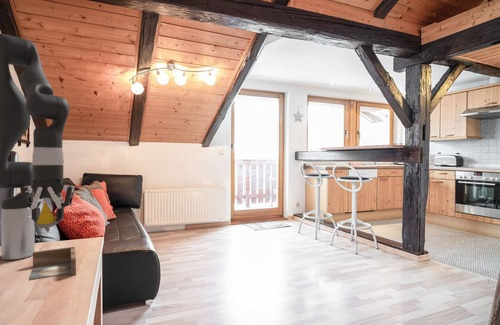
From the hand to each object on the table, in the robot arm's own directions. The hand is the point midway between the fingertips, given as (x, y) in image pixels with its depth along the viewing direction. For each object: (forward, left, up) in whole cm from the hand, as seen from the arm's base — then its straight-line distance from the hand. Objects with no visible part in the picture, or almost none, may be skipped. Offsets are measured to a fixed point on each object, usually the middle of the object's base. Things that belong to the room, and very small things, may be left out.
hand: (48, 220), depth 88 cm
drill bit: (0, 0, -4) cm, 4 cm away
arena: (-1, +2, -17) cm, 17 cm away
